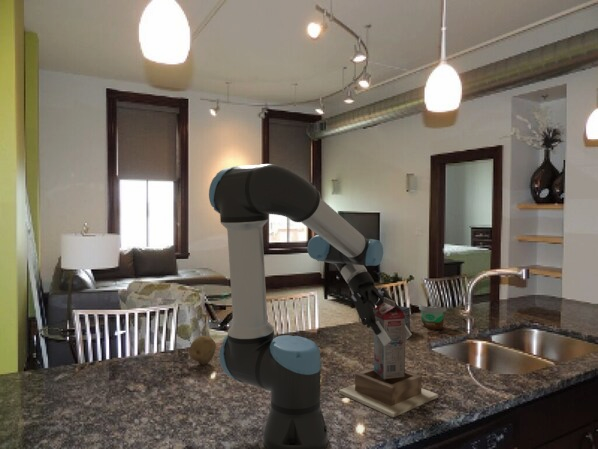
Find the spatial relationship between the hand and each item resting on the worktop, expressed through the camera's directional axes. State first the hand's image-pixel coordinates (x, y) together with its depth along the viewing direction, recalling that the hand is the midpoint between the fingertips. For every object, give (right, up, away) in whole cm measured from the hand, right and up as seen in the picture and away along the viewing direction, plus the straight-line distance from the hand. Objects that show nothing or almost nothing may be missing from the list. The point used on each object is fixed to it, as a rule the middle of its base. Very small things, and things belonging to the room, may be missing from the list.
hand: (398, 340), depth 128 cm
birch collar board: (-2, -17, +3) cm, 17 cm away
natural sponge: (-62, -16, +29) cm, 70 cm away
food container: (+33, -15, +78) cm, 86 cm away
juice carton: (-2, -11, +3) cm, 11 cm away
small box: (+16, -15, +72) cm, 75 cm away
